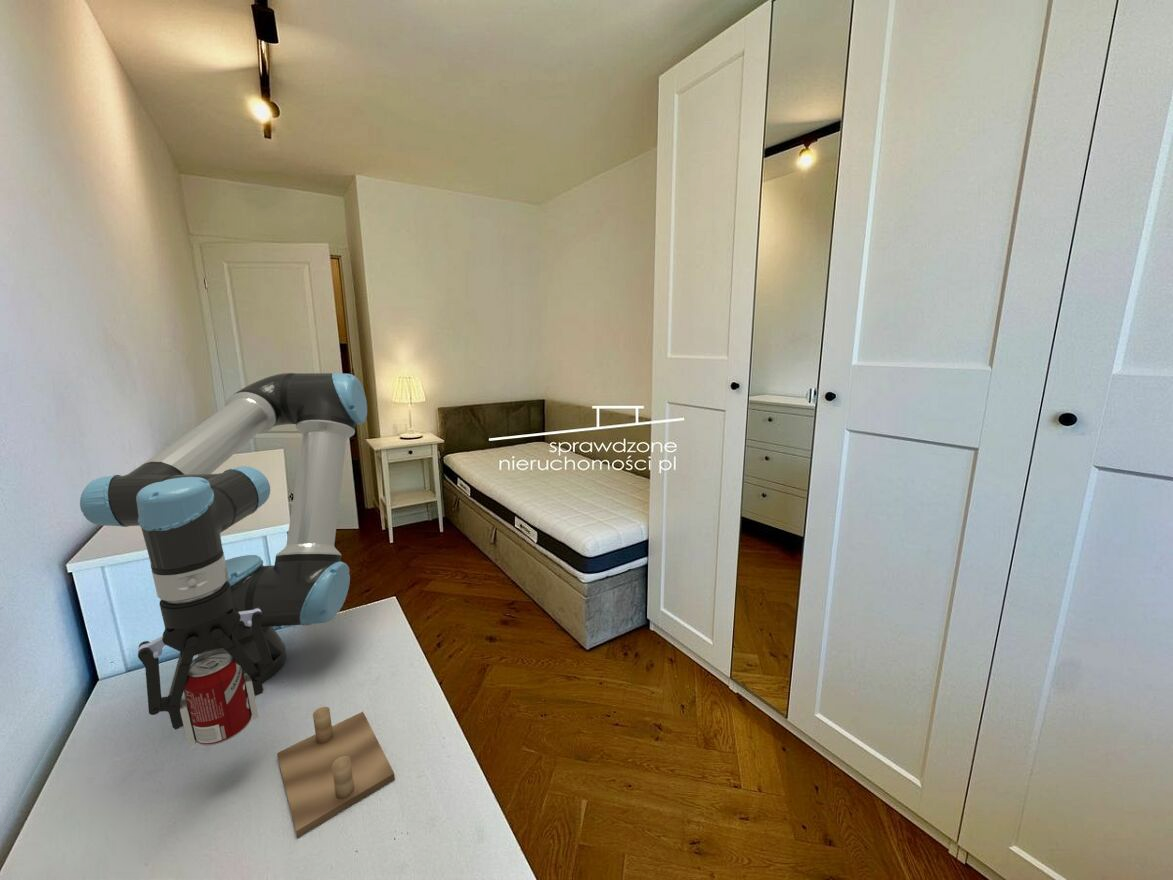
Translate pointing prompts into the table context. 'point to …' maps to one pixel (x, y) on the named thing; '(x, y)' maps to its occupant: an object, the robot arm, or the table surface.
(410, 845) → the table surface
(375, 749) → the pegboard
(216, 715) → the soda can
